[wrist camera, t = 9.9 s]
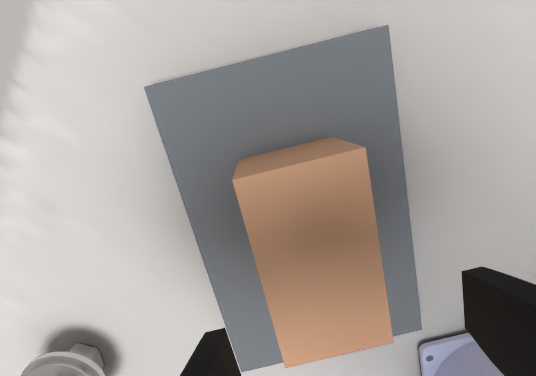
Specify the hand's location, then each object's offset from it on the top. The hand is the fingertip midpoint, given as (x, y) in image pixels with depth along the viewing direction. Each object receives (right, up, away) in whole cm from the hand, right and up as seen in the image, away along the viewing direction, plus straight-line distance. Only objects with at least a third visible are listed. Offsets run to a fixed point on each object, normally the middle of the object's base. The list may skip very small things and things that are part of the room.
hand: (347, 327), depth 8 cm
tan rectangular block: (0, +2, +7) cm, 8 cm away
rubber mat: (0, +2, +8) cm, 9 cm away
